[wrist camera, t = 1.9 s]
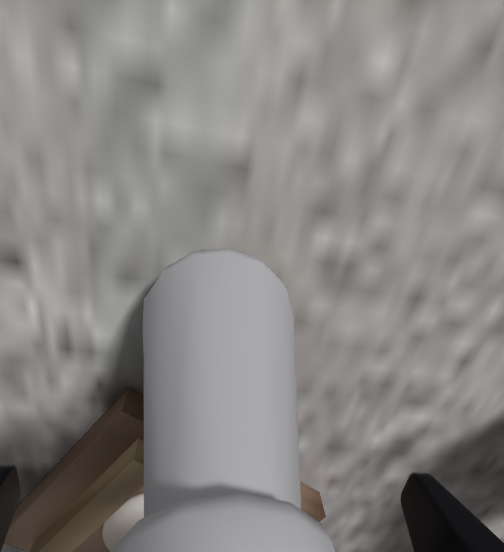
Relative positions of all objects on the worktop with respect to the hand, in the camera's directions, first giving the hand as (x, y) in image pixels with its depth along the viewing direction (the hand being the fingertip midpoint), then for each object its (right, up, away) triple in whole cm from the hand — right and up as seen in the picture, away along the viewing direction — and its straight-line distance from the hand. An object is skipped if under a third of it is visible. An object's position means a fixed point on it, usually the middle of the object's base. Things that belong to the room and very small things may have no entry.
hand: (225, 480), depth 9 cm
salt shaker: (-1, +4, +8) cm, 9 cm away
